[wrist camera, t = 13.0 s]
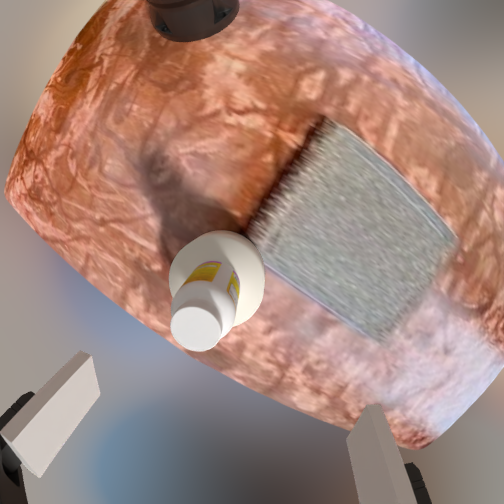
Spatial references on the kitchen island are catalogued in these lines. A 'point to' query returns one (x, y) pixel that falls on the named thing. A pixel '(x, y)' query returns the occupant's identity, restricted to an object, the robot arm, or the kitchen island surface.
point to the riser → (232, 253)
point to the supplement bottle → (205, 306)
